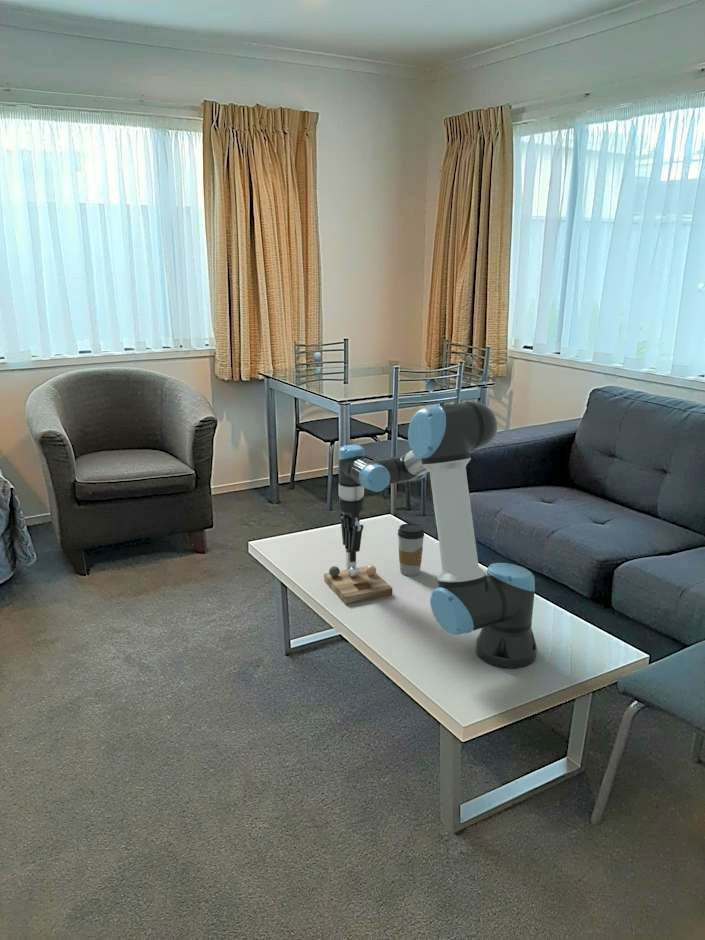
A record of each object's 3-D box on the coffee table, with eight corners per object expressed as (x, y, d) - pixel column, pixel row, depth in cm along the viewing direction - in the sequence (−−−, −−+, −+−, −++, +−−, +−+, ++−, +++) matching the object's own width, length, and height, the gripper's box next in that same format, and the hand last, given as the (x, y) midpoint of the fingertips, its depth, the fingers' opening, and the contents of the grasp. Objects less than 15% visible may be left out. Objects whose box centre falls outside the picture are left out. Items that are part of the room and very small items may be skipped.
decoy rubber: (341, 577, 226) (341, 567, 225) (331, 579, 225) (331, 569, 224) (337, 573, 229) (337, 563, 228) (327, 575, 227) (327, 565, 226)
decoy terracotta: (377, 576, 227) (378, 566, 226) (368, 578, 226) (368, 568, 225) (373, 572, 230) (373, 562, 229) (364, 574, 228) (364, 564, 227)
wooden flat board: (392, 595, 220) (392, 587, 219) (345, 604, 214) (345, 596, 213) (368, 573, 235) (368, 565, 234) (324, 581, 229) (324, 573, 228)
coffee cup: (413, 579, 230) (415, 534, 226) (391, 572, 235) (392, 528, 231) (428, 570, 237) (429, 526, 232) (406, 564, 242) (407, 520, 237)
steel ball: (357, 575, 228) (361, 577, 225) (347, 577, 227) (351, 579, 224) (356, 564, 228) (360, 566, 225) (346, 566, 227) (350, 568, 223)
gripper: (371, 502, 217) (370, 576, 224) (354, 489, 228) (353, 560, 235) (348, 505, 214) (347, 580, 221) (331, 492, 225) (331, 563, 232)
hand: (351, 569), depth 228 cm, fingers closed
